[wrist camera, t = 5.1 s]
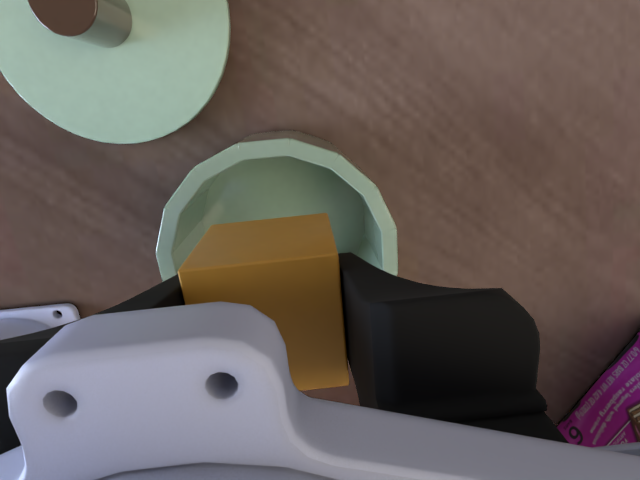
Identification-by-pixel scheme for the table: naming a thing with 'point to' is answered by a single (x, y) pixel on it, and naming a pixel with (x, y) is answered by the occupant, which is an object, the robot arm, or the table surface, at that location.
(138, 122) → the lid
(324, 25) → the table surface
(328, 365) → the block
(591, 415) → the candy bar box
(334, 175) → the jar
